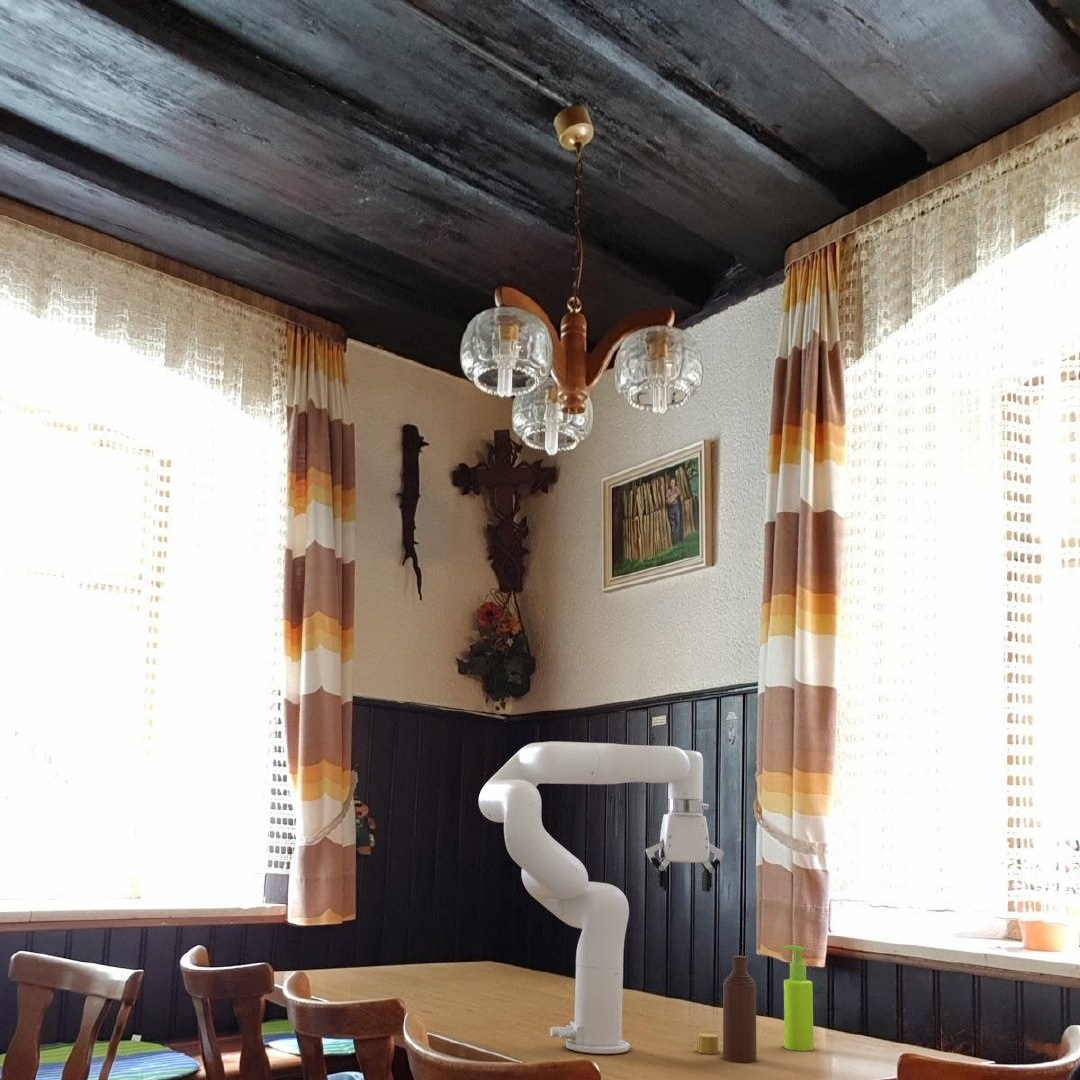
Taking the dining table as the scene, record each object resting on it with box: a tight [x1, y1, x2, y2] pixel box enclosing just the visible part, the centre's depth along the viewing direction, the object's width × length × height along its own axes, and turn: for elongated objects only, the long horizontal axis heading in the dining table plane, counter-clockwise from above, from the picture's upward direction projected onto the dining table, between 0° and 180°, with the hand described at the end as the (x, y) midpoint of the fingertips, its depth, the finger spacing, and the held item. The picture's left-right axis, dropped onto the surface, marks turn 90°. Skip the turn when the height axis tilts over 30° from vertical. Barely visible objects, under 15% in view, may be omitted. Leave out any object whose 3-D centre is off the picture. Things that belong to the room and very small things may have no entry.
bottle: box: [722, 955, 757, 1064], centre depth 231 cm, size 6×6×19 cm
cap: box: [697, 1033, 719, 1055], centre depth 235 cm, size 4×4×3 cm
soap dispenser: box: [778, 944, 815, 1052], centre depth 246 cm, size 6×7×20 cm
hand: (684, 890), depth 250 cm, fingers open, 9 cm apart
